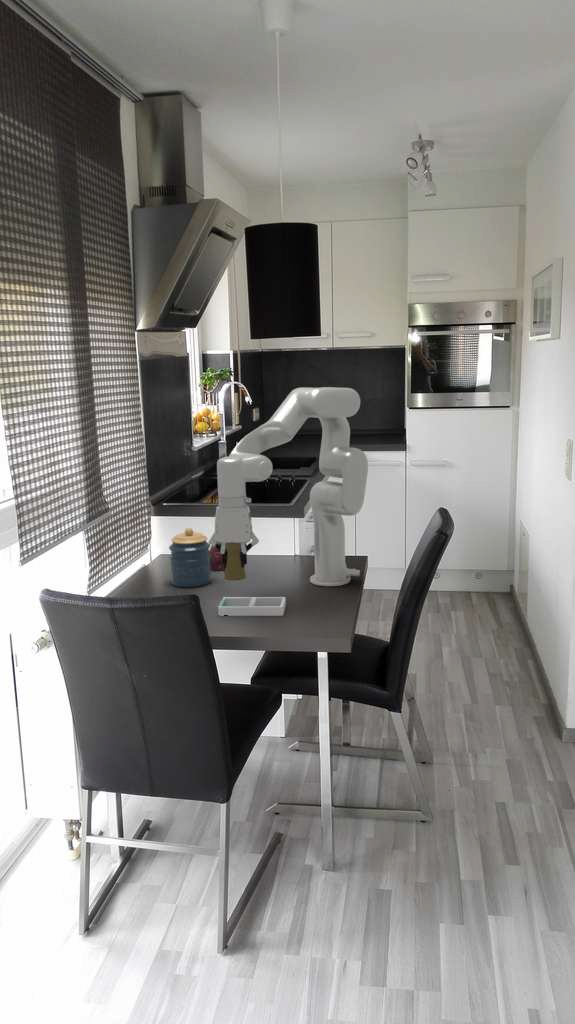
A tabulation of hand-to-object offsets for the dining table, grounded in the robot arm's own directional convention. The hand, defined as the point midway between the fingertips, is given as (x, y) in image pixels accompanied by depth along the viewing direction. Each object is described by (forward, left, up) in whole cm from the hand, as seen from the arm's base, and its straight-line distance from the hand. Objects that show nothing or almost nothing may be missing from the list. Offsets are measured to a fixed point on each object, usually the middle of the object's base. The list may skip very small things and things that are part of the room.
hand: (234, 566), depth 230 cm
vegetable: (+11, -46, -13) cm, 49 cm away
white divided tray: (-5, 0, -13) cm, 14 cm away
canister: (+18, -29, -13) cm, 36 cm away
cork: (0, 0, -4) cm, 4 cm away
